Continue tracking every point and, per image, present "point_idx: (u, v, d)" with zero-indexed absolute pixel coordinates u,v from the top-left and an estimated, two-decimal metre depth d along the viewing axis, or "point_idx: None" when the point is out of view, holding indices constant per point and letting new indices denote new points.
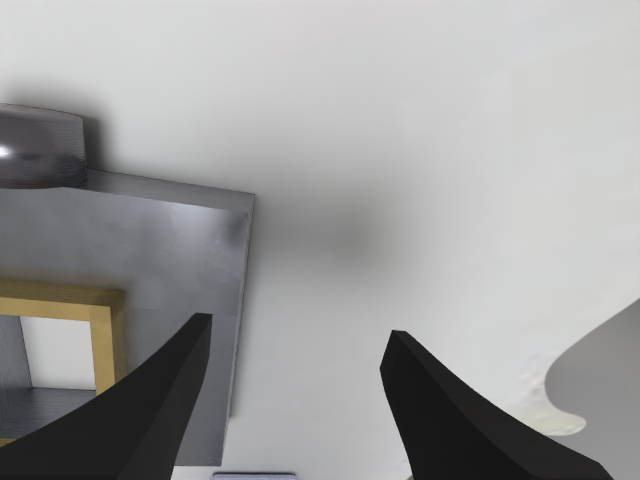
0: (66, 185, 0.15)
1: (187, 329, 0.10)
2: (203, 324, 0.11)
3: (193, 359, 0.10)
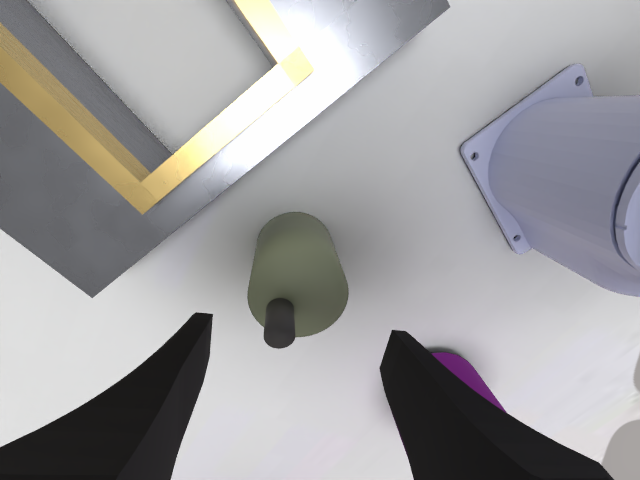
0: None
1: (187, 329, 0.10)
2: (203, 324, 0.11)
3: (193, 359, 0.10)
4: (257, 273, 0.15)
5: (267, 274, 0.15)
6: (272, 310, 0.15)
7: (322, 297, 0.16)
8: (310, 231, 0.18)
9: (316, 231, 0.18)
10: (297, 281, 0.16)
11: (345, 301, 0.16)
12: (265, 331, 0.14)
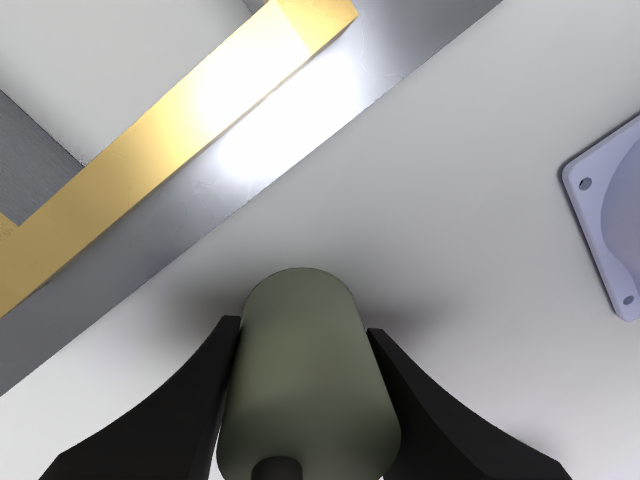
0: None
1: (220, 332, 0.10)
2: (234, 327, 0.11)
3: (228, 361, 0.10)
4: (233, 421, 0.08)
5: (253, 422, 0.08)
6: None
7: (354, 450, 0.09)
8: (330, 316, 0.10)
9: (338, 312, 0.11)
10: (309, 430, 0.08)
11: (394, 453, 0.09)
12: None
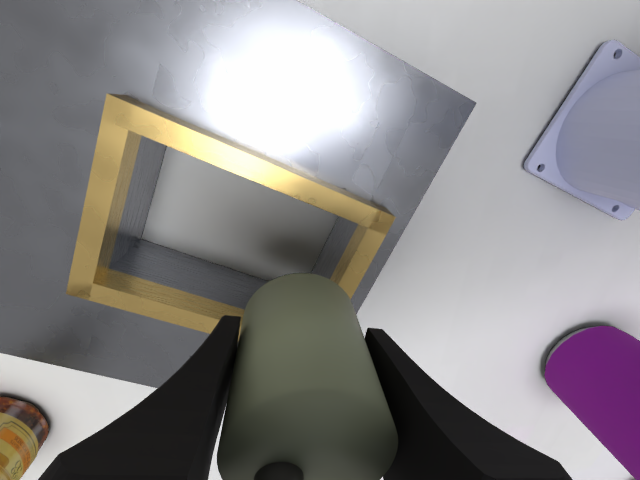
0: None
1: (220, 332, 0.10)
2: (234, 327, 0.11)
3: (228, 361, 0.10)
4: (229, 432, 0.08)
5: (249, 431, 0.08)
6: None
7: (352, 452, 0.09)
8: (322, 321, 0.11)
9: (331, 315, 0.11)
10: (305, 435, 0.09)
11: (393, 453, 0.09)
12: None
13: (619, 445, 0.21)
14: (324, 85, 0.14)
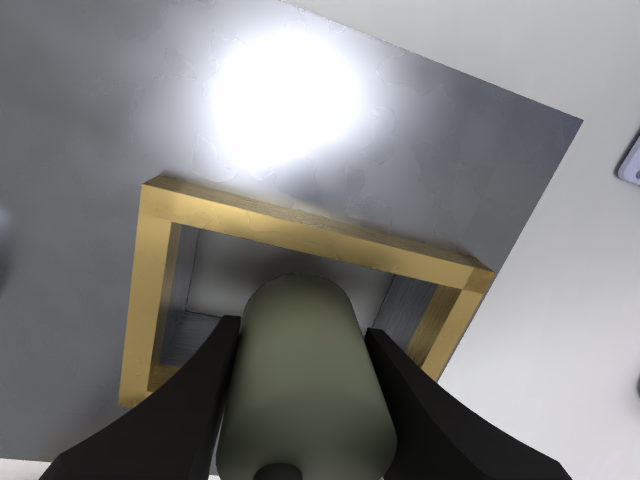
0: None
1: (220, 332, 0.10)
2: (234, 327, 0.11)
3: (228, 361, 0.10)
4: (228, 433, 0.08)
5: (247, 432, 0.08)
6: None
7: (351, 453, 0.09)
8: (321, 322, 0.11)
9: (330, 316, 0.11)
10: (304, 436, 0.09)
11: (392, 453, 0.09)
12: None
13: None
14: (396, 127, 0.11)
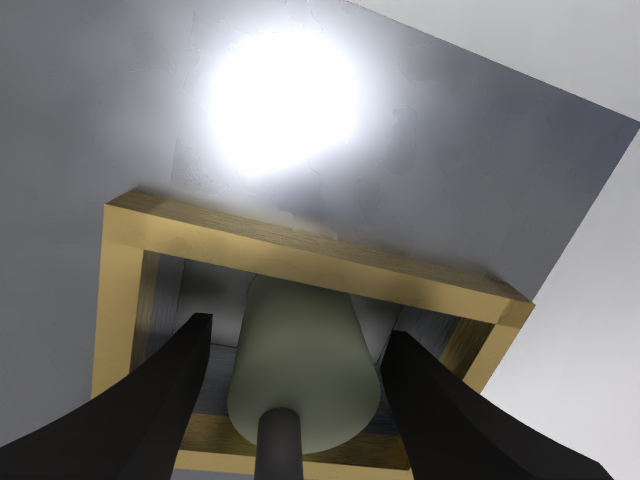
0: None
1: (187, 329, 0.10)
2: (203, 324, 0.11)
3: (193, 359, 0.10)
4: (238, 379, 0.10)
5: (254, 379, 0.10)
6: (265, 437, 0.10)
7: (341, 399, 0.11)
8: (317, 293, 0.12)
9: (325, 289, 0.13)
10: (301, 384, 0.10)
11: (376, 401, 0.11)
12: None
13: None
14: (419, 131, 0.09)
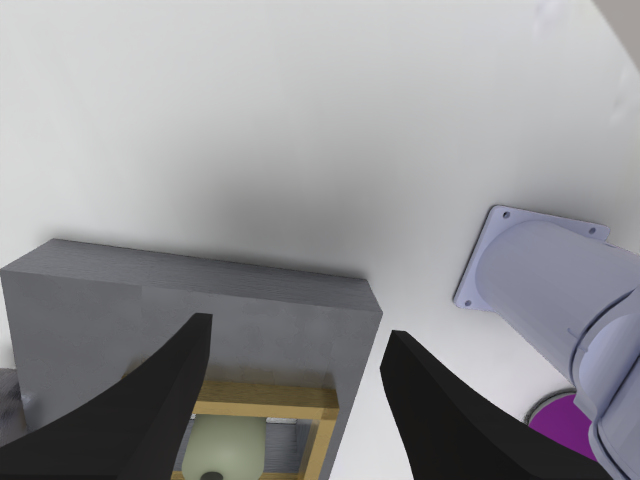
0: None
1: (187, 329, 0.10)
2: (203, 324, 0.11)
3: (193, 359, 0.10)
4: (185, 460, 0.19)
5: (193, 460, 0.19)
6: None
7: (242, 465, 0.20)
8: None
9: None
10: (218, 460, 0.20)
11: (262, 464, 0.20)
12: None
13: None
14: (262, 333, 0.19)
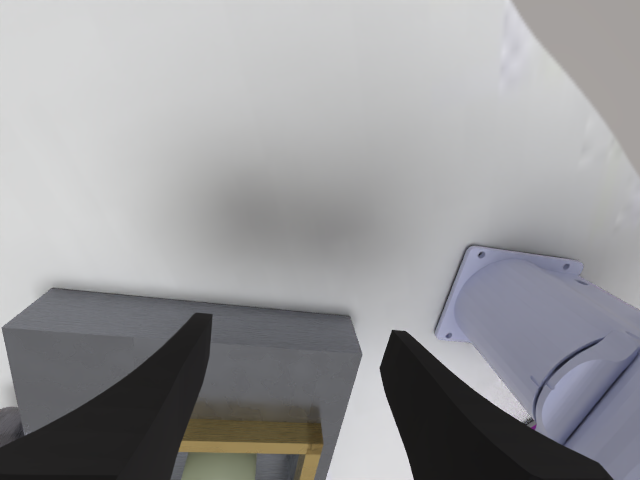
0: None
1: (187, 329, 0.10)
2: (203, 324, 0.11)
3: (193, 359, 0.10)
4: None
5: None
6: None
7: None
8: None
9: None
10: None
11: None
12: None
13: None
14: (248, 375, 0.20)
